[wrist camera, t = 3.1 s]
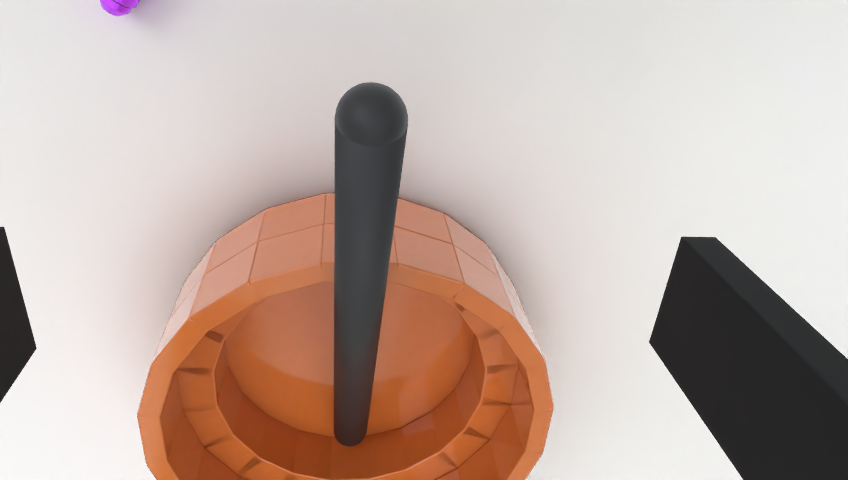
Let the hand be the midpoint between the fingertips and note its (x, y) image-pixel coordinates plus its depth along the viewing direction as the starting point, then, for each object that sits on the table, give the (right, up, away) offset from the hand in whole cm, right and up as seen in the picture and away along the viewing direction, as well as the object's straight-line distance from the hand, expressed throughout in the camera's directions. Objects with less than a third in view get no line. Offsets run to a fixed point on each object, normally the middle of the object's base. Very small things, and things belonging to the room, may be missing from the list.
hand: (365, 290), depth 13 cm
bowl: (-2, -4, +17) cm, 17 cm away
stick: (-1, -2, +9) cm, 10 cm away
